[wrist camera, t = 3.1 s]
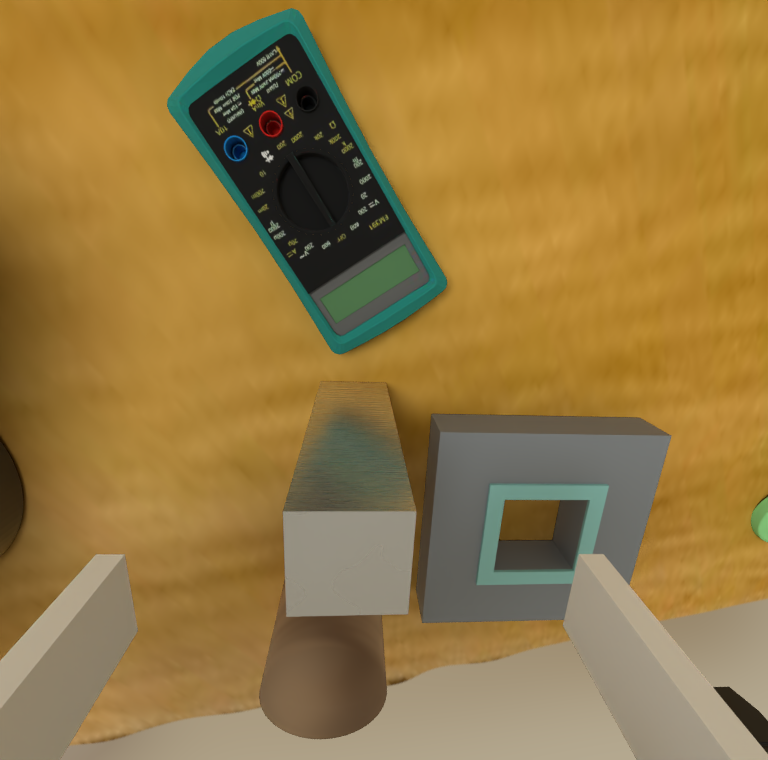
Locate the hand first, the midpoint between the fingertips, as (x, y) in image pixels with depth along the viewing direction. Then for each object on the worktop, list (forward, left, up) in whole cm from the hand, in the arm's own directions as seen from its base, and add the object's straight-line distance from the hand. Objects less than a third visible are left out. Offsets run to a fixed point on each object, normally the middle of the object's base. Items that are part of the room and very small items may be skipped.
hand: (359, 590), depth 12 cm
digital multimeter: (-2, +12, -15) cm, 19 cm away
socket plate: (+12, -7, -14) cm, 19 cm away
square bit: (0, 0, -14) cm, 14 cm away
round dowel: (-1, -10, -14) cm, 17 cm away
